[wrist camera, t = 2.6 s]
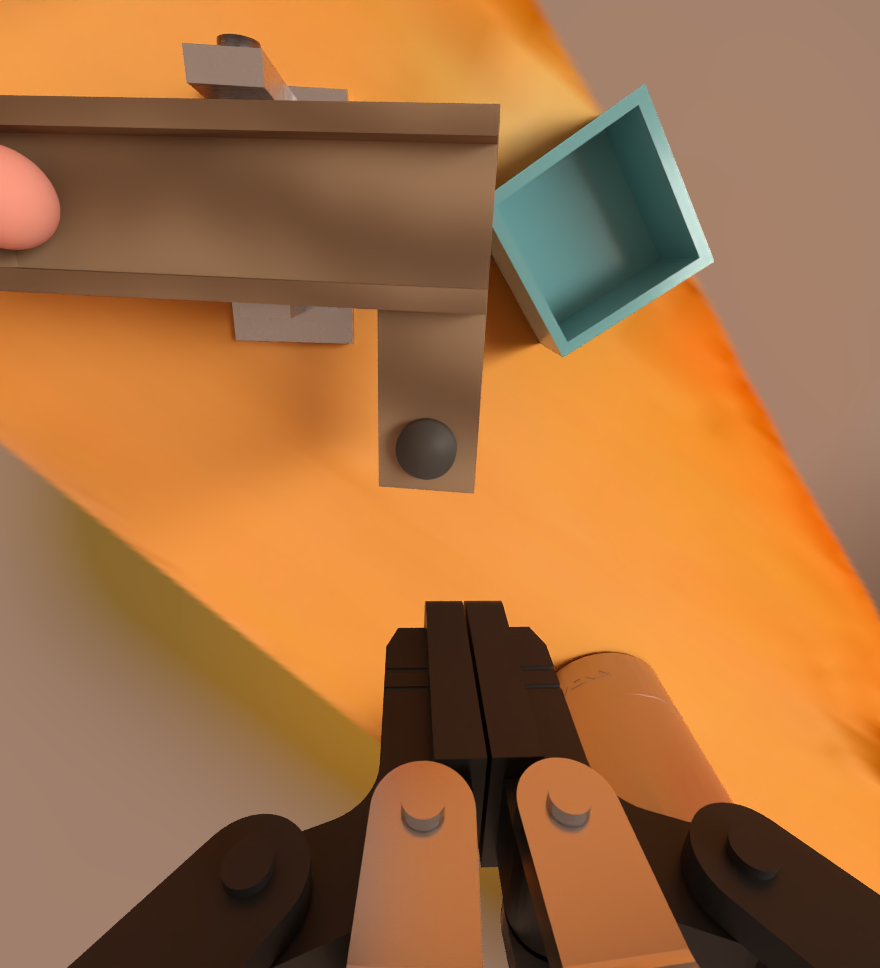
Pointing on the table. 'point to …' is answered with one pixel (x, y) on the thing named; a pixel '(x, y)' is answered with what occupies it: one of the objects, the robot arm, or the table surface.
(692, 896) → the robot arm
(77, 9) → the table surface
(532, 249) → the teal square bin
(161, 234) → the lever
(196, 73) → the fulcrum
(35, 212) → the ball
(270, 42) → the table surface
